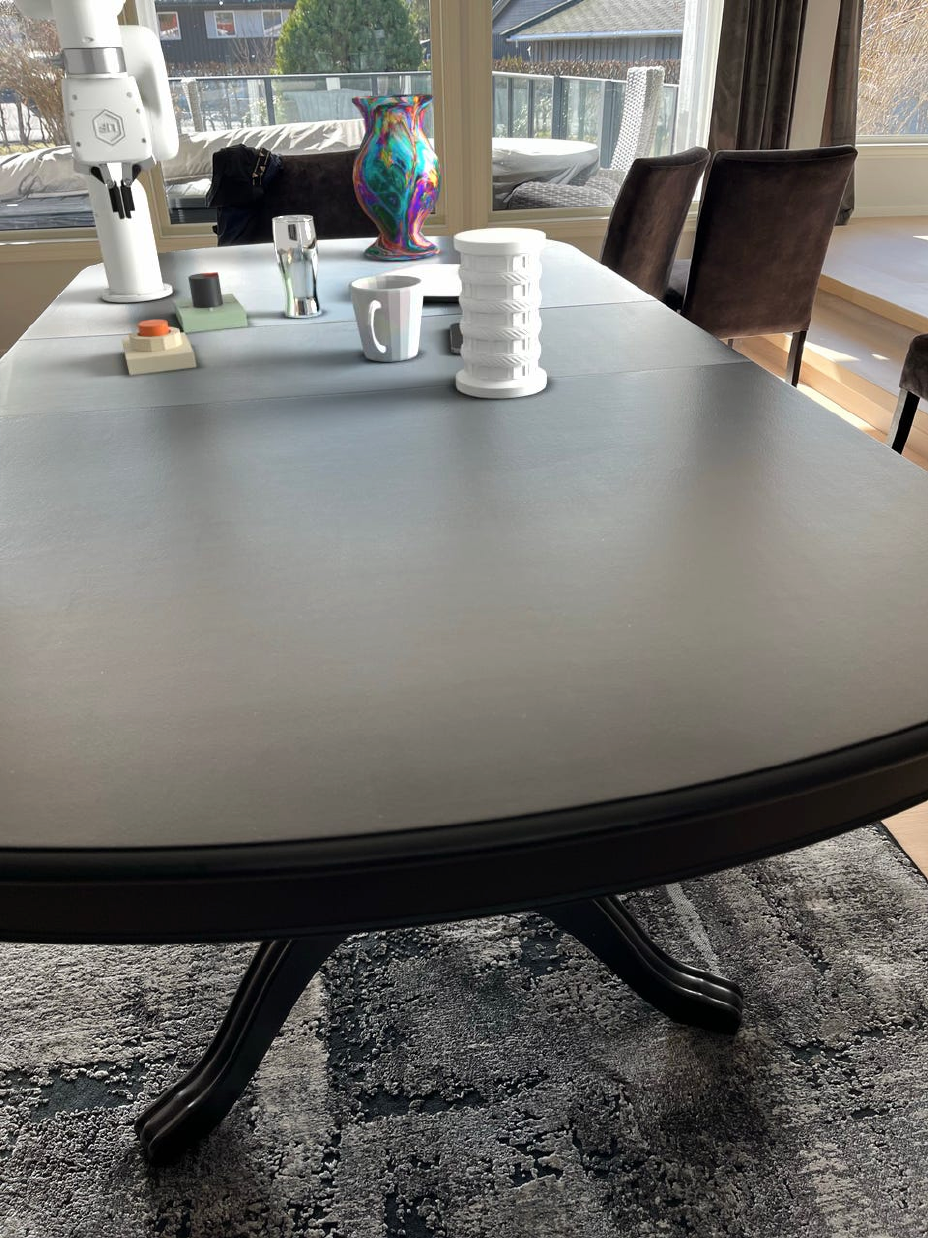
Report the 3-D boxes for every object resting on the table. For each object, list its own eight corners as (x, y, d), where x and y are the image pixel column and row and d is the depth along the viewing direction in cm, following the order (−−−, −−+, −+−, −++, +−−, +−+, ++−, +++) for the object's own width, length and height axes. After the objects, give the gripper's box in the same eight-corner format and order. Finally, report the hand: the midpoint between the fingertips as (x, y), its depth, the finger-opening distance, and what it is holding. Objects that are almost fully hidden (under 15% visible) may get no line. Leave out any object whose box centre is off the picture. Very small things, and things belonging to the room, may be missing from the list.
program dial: (195, 308, 152) (189, 277, 150) (191, 302, 156) (186, 272, 154) (225, 305, 154) (220, 274, 151) (220, 299, 158) (215, 269, 155)
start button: (139, 333, 135) (136, 321, 134) (168, 330, 136) (165, 318, 135) (141, 340, 132) (138, 327, 131) (170, 336, 133) (168, 324, 132)
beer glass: (316, 319, 155) (305, 220, 147) (276, 318, 156) (263, 220, 148) (329, 309, 160) (320, 214, 153) (291, 308, 162) (280, 214, 154)
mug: (435, 346, 138) (432, 274, 133) (409, 375, 126) (404, 298, 120) (366, 344, 140) (361, 273, 135) (334, 373, 127) (327, 296, 122)
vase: (457, 249, 207) (453, 93, 192) (420, 264, 193) (412, 97, 177) (384, 245, 214) (374, 94, 198) (343, 260, 200) (328, 98, 184)
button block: (125, 354, 139) (119, 326, 137) (187, 346, 142) (182, 319, 140) (129, 375, 129) (123, 346, 127) (196, 367, 132) (191, 338, 130)
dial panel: (175, 314, 161) (172, 298, 159) (234, 308, 163) (232, 292, 162) (184, 333, 149) (181, 315, 148) (247, 325, 152) (245, 309, 151)
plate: (341, 301, 165) (340, 289, 164) (406, 271, 187) (405, 261, 186) (484, 310, 156) (483, 298, 155) (535, 278, 178) (535, 267, 177)
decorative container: (438, 390, 119) (431, 239, 110) (485, 367, 128) (482, 225, 119) (518, 403, 114) (518, 245, 105) (561, 378, 122) (565, 230, 113)
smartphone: (451, 349, 133) (449, 322, 146) (451, 354, 134) (449, 327, 147) (505, 347, 133) (499, 321, 146) (505, 352, 134) (499, 325, 147)
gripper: (32, 67, 116) (69, 226, 126) (157, 63, 121) (183, 217, 130) (33, 65, 122) (68, 217, 132) (152, 62, 127) (177, 209, 136)
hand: (125, 217), depth 131 cm, fingers closed
